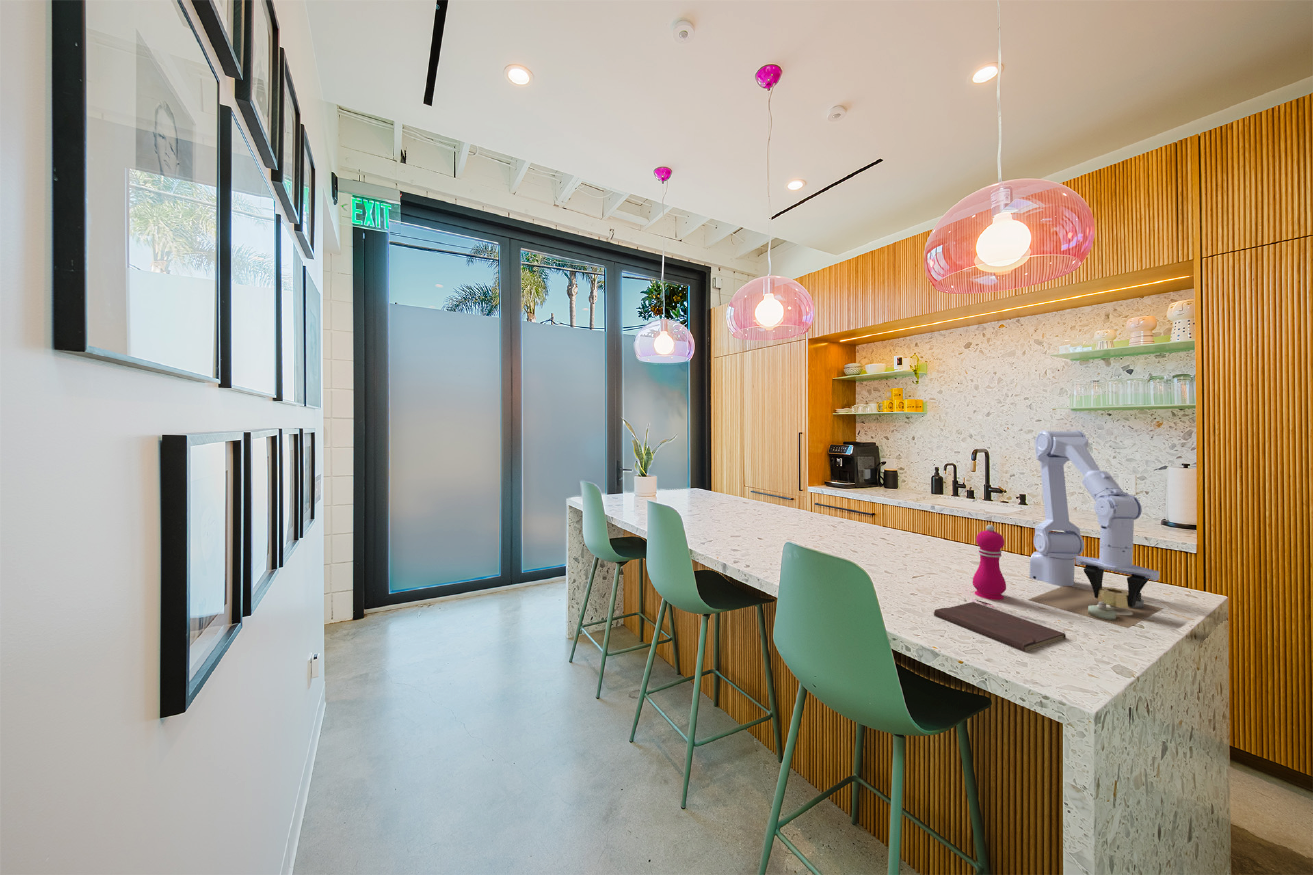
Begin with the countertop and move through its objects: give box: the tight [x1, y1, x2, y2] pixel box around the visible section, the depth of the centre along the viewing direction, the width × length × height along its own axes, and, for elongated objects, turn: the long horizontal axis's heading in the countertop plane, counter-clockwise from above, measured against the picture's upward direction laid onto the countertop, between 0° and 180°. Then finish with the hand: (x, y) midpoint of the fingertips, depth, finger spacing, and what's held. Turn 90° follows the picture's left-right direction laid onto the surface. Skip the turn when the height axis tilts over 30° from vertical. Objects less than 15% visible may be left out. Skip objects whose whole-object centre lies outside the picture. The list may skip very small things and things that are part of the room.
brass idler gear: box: [1098, 586, 1130, 608], centre depth 115 cm, size 5×5×3 cm
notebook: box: [933, 601, 1067, 652], centre depth 110 cm, size 15×20×2 cm
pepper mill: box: [972, 524, 1007, 606], centre depth 125 cm, size 7×7×20 cm
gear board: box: [1027, 585, 1164, 629], centre depth 119 cm, size 19×22×6 cm
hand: (1114, 601), depth 115 cm, fingers closed on brass idler gear, 5 cm apart
